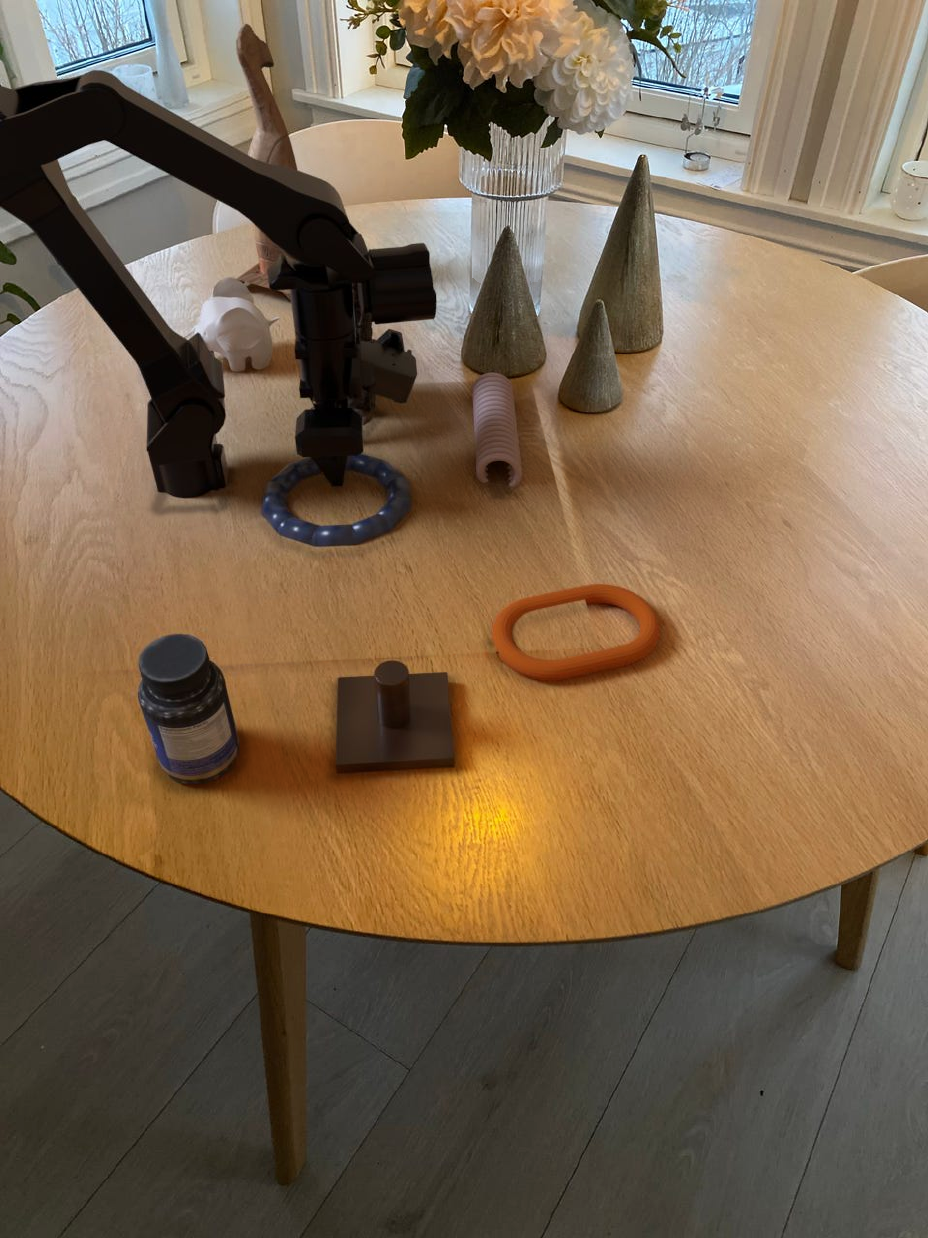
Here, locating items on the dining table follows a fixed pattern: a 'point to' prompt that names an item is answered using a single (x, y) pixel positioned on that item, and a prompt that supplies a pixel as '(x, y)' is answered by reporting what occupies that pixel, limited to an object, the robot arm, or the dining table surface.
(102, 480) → the dining table surface
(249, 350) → the elephant figurine
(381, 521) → the ring
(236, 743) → the pill bottle
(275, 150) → the bird sculpture
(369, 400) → the statue
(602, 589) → the orange oval loop
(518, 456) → the coil
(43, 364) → the dining table surface
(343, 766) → the stand
